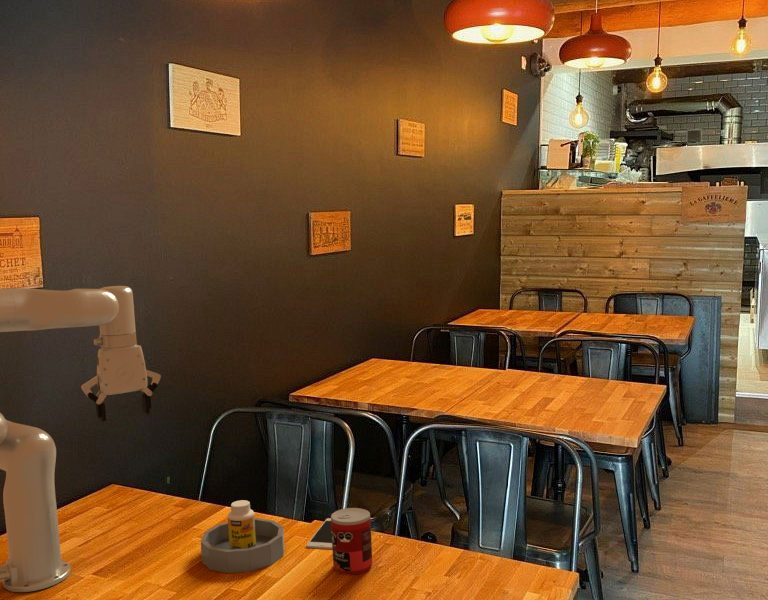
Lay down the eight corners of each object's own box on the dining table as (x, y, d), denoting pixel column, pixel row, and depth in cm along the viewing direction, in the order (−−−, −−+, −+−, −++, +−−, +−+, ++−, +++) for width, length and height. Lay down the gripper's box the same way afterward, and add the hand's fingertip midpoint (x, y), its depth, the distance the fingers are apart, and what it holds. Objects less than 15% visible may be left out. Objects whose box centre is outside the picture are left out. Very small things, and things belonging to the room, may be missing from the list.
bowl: (221, 580, 150) (220, 558, 150) (191, 552, 164) (190, 532, 164) (298, 556, 160) (296, 535, 159) (263, 531, 174) (262, 512, 173)
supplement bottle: (228, 556, 159) (225, 508, 158) (231, 545, 164) (228, 499, 163) (255, 553, 159) (252, 506, 158) (257, 543, 165) (254, 497, 164)
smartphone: (305, 549, 164) (305, 545, 164) (327, 521, 179) (326, 517, 179) (337, 551, 162) (337, 547, 162) (356, 523, 177) (356, 519, 177)
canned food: (328, 563, 156) (325, 512, 155) (364, 555, 159) (361, 504, 158) (341, 579, 149) (338, 525, 148) (378, 570, 152) (376, 517, 151)
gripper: (82, 348, 161) (88, 427, 163) (162, 338, 171) (168, 412, 173) (74, 344, 167) (80, 420, 169) (152, 335, 177) (157, 406, 179)
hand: (124, 416), depth 171 cm, fingers open, 9 cm apart
